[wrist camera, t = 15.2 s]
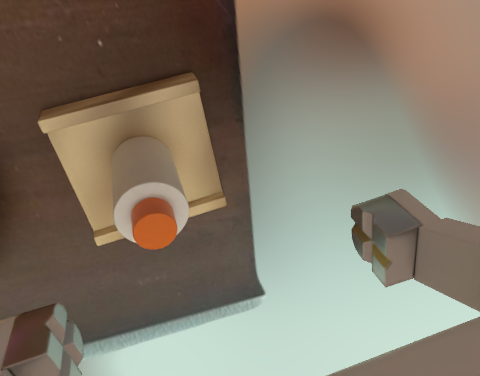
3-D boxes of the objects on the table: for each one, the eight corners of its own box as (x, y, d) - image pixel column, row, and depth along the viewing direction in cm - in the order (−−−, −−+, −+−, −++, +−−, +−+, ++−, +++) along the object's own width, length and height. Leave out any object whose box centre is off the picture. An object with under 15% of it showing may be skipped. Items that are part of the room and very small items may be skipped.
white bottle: (163, 128, 32) (184, 188, 24) (178, 179, 35) (202, 249, 27) (102, 145, 32) (102, 212, 23) (123, 196, 34) (129, 273, 26)
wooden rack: (192, 71, 32) (198, 79, 30) (220, 192, 39) (227, 205, 37) (41, 110, 30) (36, 121, 28) (98, 230, 37) (97, 246, 35)
